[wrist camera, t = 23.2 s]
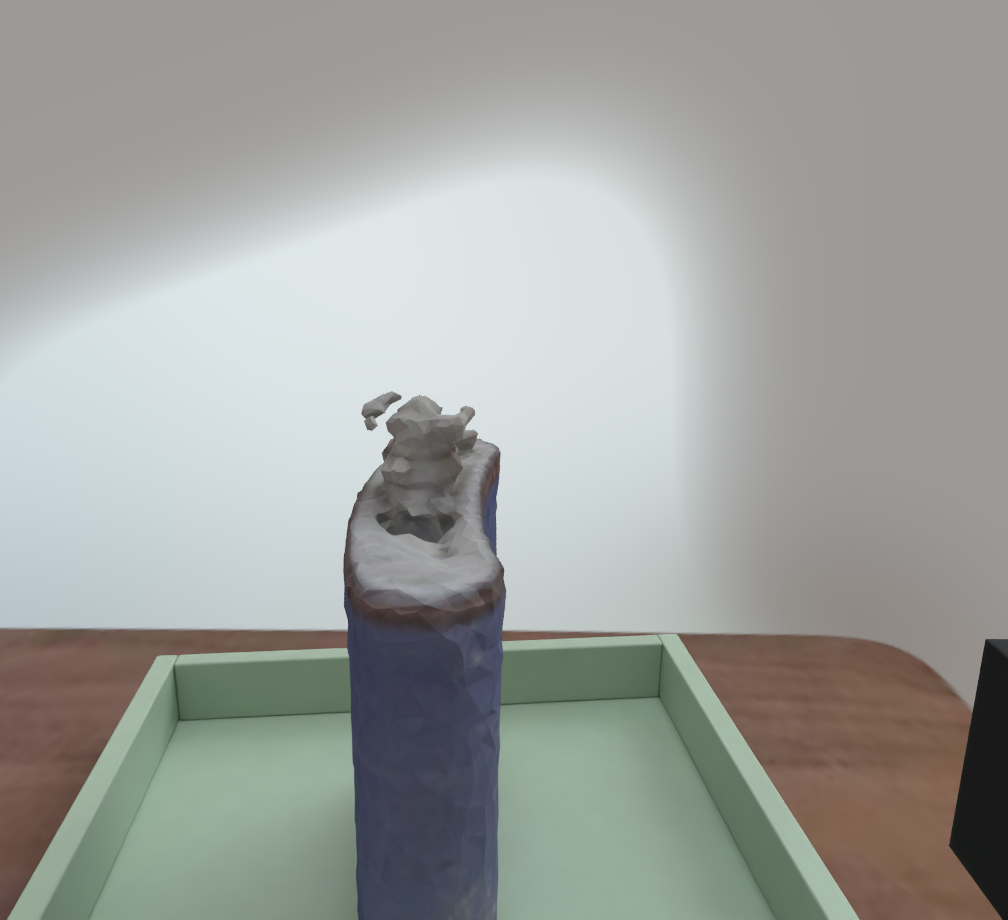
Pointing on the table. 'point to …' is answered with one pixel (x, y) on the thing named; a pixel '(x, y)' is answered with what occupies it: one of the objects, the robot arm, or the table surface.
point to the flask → (426, 668)
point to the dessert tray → (521, 797)
